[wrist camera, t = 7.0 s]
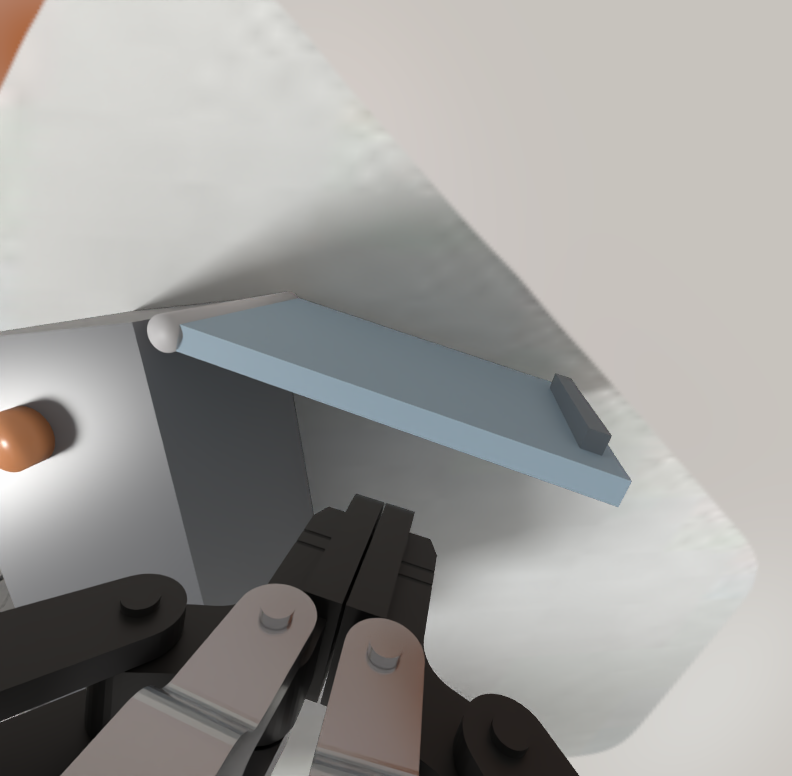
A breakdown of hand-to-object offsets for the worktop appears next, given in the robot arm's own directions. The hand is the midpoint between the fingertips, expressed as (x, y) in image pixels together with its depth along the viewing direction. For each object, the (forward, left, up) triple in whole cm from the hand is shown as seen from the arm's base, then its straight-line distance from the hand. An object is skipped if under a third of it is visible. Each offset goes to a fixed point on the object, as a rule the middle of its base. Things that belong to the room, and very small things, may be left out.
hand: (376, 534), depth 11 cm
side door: (+2, +1, -16) cm, 16 cm away
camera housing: (-6, +14, -17) cm, 23 cm away
